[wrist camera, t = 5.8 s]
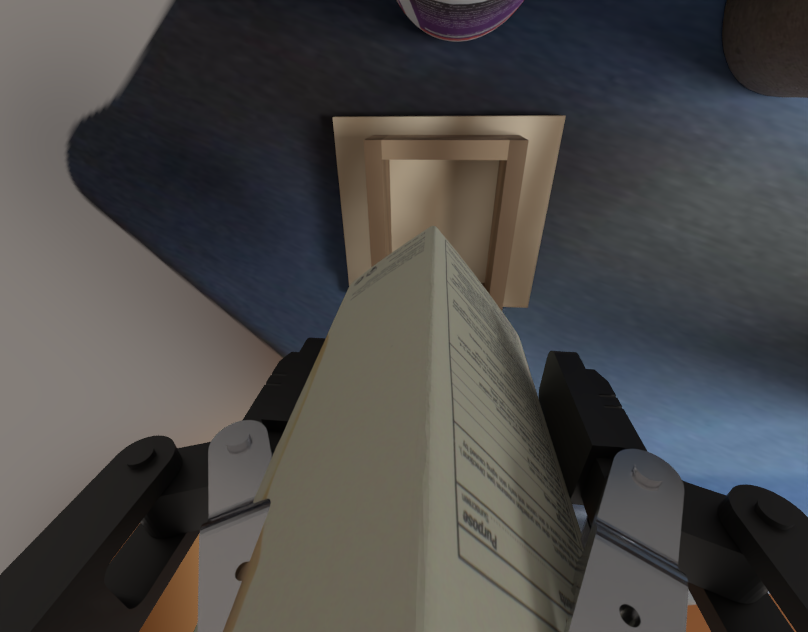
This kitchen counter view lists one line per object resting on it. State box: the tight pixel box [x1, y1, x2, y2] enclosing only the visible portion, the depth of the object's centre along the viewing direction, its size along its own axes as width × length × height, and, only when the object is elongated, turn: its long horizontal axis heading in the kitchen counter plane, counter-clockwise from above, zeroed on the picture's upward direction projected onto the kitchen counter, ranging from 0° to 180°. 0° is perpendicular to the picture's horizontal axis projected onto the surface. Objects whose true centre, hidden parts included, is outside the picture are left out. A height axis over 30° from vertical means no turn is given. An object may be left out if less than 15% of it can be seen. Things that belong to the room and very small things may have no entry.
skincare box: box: [194, 226, 584, 632], centre depth 9 cm, size 6×4×12 cm
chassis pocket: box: [333, 115, 566, 311], centre depth 24 cm, size 14×13×4 cm
